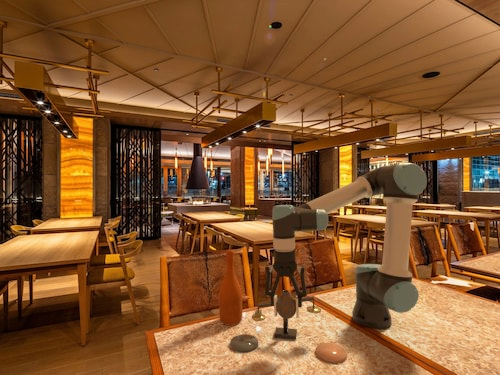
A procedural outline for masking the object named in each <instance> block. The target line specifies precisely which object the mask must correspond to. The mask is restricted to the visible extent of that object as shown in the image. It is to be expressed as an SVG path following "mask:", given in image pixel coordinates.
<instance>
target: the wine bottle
mask: <svg viewBox="0 0 500 375" xmlns="http://www.w3.org/2000/svg"><path fill="white" fill-rule="evenodd" d="M225 254H226V258H225V260H226V270H225V273H224V277H223V280H222V282H221V286H220V289H219V295H218V309H219V321H220V323H222V324H224V325H226V326H233V325H237V324H239V323H241V322H242V320H243V292H242V291H243V290H242V287H241V285H240V283H239V280H238V277H237V276H236V272H235V267H234V260H235V256H234V255H235V251H234V250H232V249H227V250H226V251H225Z"/></svg>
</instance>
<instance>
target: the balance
mask: <svg viewBox="0 0 500 375" xmlns="http://www.w3.org/2000/svg"><path fill="white" fill-rule="evenodd" d="M294 299H295V301H296V298H294ZM311 301H312V305H309V306H307V307H306V312H308V313H310V314H319V313H321V312H322V308H321V307H319V306H316V305H315V296H306V297H302V303H306V302H311ZM256 306H257V309H255V310H254V311H255V312H254V314H252V315H251V319H252V321H256V322H261V321H264V320H265V319H266V315H265V314H263V310H262V309H260V308H269V307H272V306H271V301H270V302H265V303H258V304H256ZM282 323H283V324H282V326H283V327H277V326H276V328H275V330H274V333H273V334H274V338H275V339H283V340H293V341H294V340H295V341H296V340H297V335H298V329H296V328H289V319H284V318H282Z"/></svg>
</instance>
